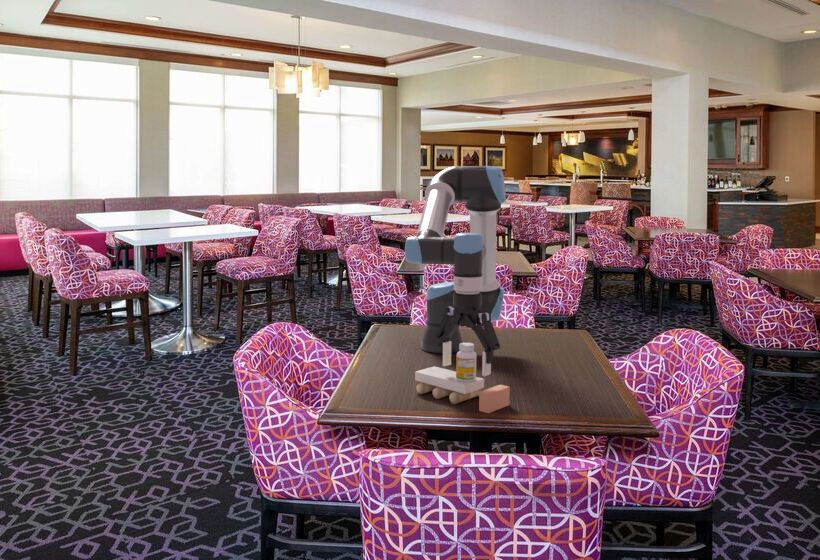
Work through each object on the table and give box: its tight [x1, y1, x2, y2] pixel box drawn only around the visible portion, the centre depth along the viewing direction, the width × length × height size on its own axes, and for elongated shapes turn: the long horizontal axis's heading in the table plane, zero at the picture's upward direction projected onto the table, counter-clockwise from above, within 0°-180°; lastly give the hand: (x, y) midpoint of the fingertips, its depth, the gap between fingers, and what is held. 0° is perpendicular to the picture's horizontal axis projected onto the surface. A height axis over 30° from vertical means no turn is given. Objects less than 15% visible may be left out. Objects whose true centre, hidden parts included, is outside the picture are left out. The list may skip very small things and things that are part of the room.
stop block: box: [478, 384, 511, 414], centre depth 177 cm, size 3×9×5 cm, turn 137°
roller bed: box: [416, 382, 482, 405], centre depth 188 cm, size 15×10×3 cm, turn 46°
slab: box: [414, 366, 485, 394], centre depth 187 cm, size 18×8×2 cm, turn 46°
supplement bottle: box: [455, 342, 478, 382], centre depth 183 cm, size 5×5×10 cm
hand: (466, 370), depth 183 cm, fingers open, 13 cm apart
